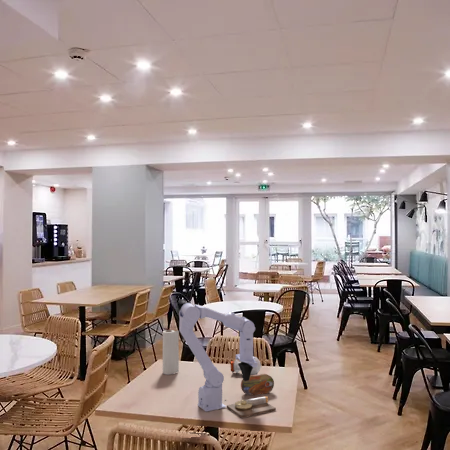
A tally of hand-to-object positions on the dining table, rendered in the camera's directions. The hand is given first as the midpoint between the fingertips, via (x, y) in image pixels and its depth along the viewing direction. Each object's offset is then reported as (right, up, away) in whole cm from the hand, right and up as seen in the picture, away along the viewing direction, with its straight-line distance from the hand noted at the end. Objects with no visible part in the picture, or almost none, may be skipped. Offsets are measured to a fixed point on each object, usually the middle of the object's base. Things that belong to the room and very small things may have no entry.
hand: (246, 380), depth 198 cm
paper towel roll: (-37, -10, +40) cm, 55 cm away
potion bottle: (+2, -10, +38) cm, 39 cm away
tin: (+5, -10, +11) cm, 16 cm away
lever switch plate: (+2, -9, -7) cm, 12 cm away
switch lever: (+2, -8, -6) cm, 10 cm away
